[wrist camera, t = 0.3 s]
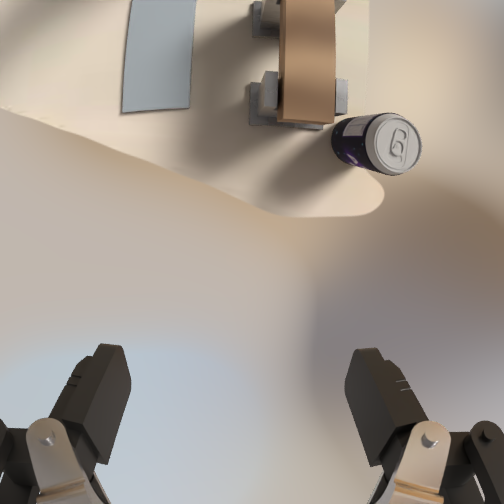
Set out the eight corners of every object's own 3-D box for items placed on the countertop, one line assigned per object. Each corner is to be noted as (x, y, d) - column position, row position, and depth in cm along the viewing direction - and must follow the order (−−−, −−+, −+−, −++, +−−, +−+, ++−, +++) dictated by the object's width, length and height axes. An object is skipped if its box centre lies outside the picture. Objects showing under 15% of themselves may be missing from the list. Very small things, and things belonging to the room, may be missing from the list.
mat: (134, -2, 26) (133, -4, 25) (197, -9, 26) (196, -11, 26) (124, 112, 31) (122, 112, 31) (189, 108, 32) (188, 107, 31)
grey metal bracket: (253, 3, 27) (259, -43, 17) (323, 10, 28) (352, -29, 17) (252, 37, 29) (257, -2, 19) (323, 43, 29) (355, 12, 19)
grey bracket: (250, 83, 31) (255, 59, 21) (323, 89, 31) (356, 70, 21) (249, 124, 33) (253, 117, 22) (321, 129, 33) (355, 126, 23)
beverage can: (323, 156, 34) (362, 165, 23) (335, 111, 32) (378, 101, 21) (365, 170, 35) (416, 186, 24) (377, 127, 33) (431, 127, 22)
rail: (280, -26, 20) (286, -46, 16) (321, -21, 20) (331, -39, 16) (277, 121, 25) (283, 118, 22) (321, 125, 26) (334, 123, 22)
